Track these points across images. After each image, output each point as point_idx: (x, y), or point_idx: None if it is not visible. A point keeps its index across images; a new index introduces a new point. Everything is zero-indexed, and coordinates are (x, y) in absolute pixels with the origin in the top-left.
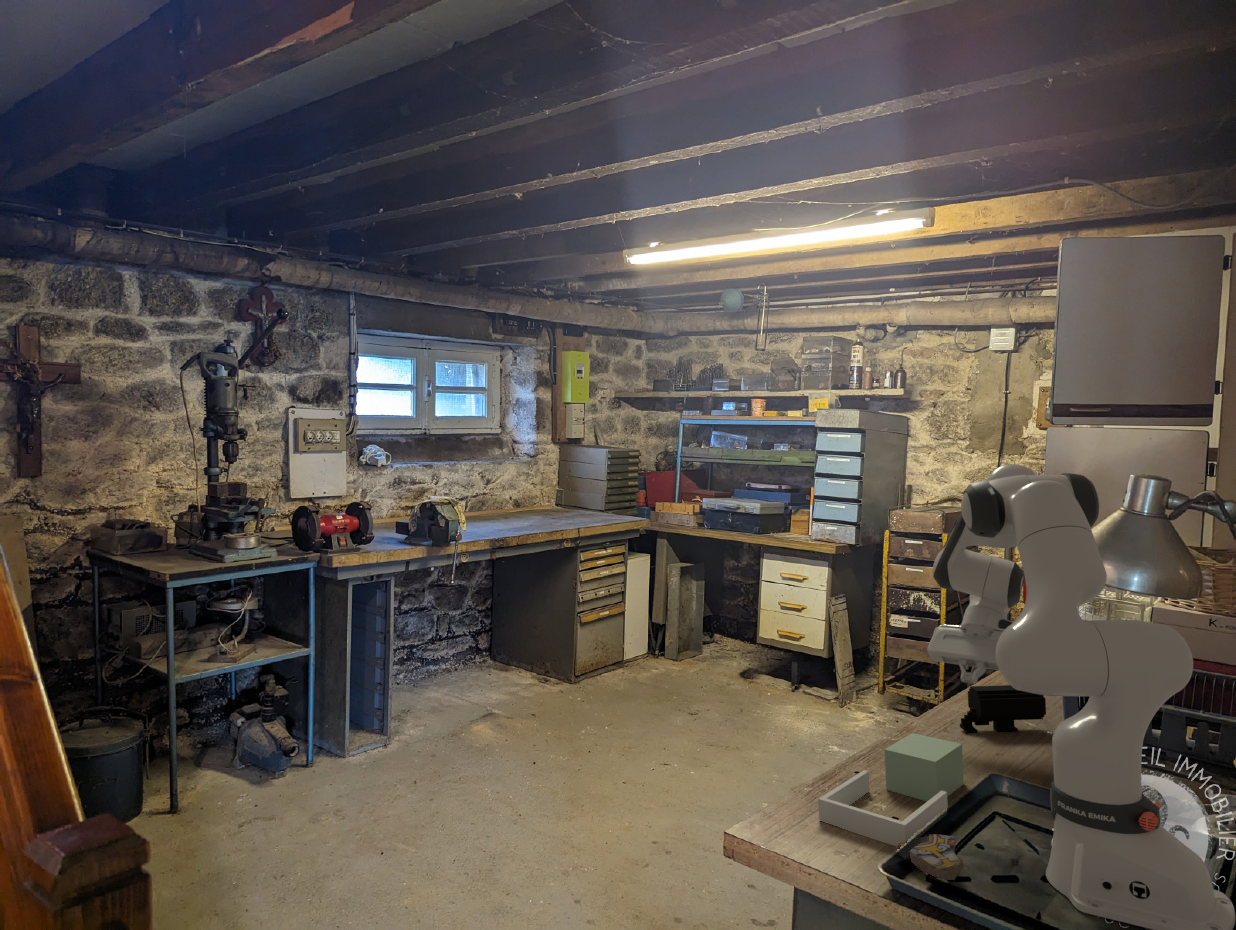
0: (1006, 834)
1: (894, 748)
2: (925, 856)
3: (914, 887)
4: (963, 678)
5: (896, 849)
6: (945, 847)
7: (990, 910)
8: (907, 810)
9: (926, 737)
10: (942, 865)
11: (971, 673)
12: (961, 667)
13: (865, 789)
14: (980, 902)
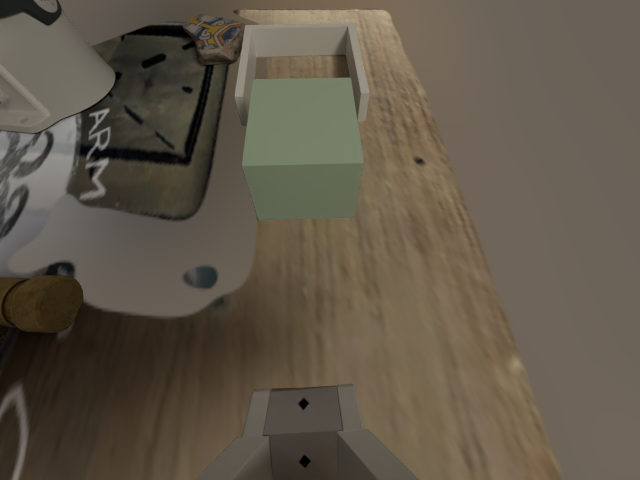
0: (163, 121)
1: (340, 87)
2: (214, 19)
3: None
4: (330, 386)
5: None
6: (202, 35)
7: (159, 28)
8: None
9: (323, 157)
10: (196, 17)
11: (276, 425)
12: (384, 460)
13: (356, 107)
14: (168, 31)
